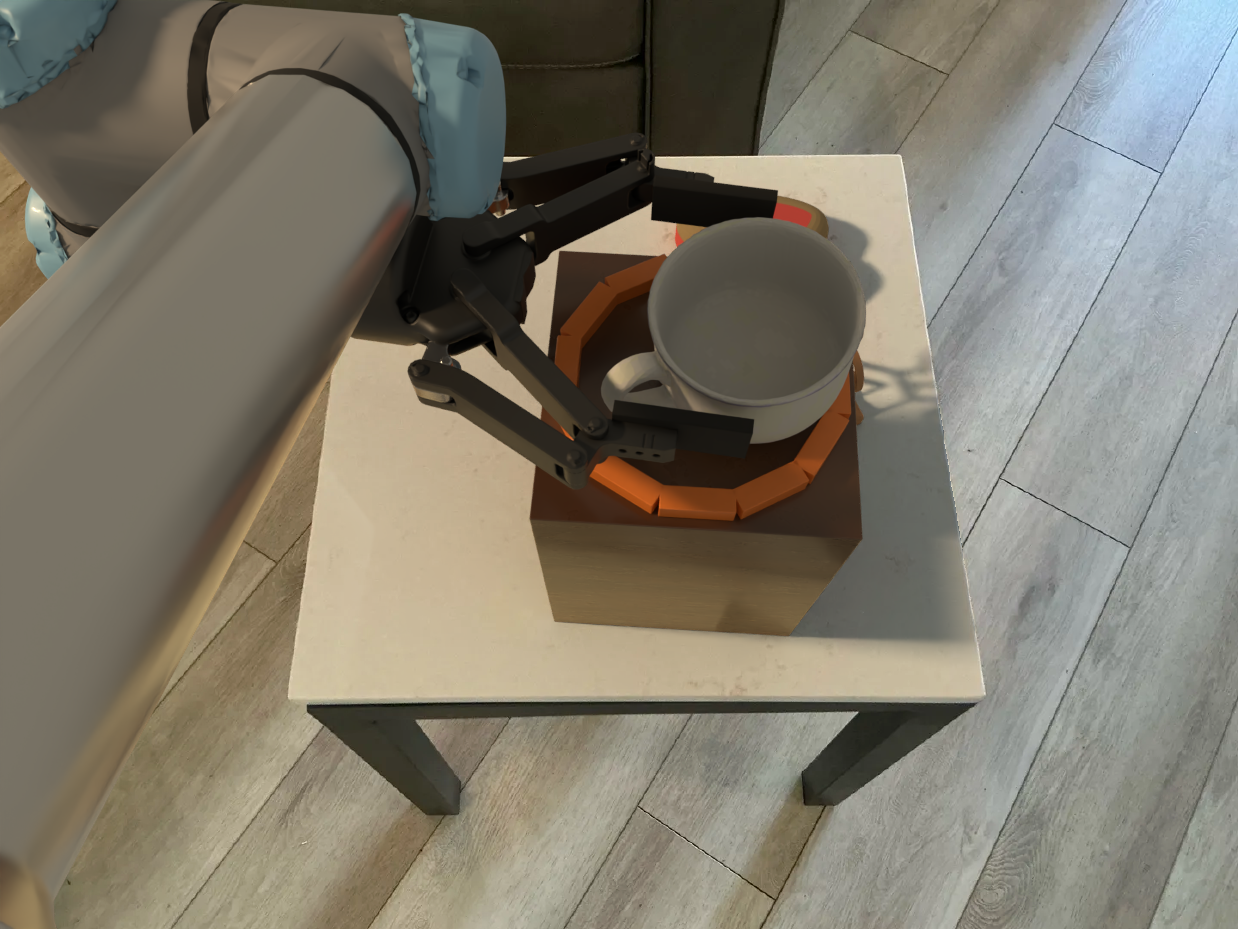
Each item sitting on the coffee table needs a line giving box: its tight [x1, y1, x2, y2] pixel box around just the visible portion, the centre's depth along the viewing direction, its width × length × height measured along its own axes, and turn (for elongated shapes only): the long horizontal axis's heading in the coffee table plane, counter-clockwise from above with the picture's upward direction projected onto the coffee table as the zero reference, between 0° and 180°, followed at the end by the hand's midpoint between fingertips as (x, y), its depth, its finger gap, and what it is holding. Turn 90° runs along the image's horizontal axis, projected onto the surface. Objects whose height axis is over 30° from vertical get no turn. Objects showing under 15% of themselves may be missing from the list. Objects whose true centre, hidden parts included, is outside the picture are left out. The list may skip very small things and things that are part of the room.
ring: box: [555, 253, 851, 521], centre depth 51 cm, size 17×17×1 cm
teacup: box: [601, 217, 867, 444], centre depth 47 cm, size 14×11×8 cm
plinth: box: [529, 250, 864, 637], centre depth 62 cm, size 18×18×22 cm
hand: (763, 319), depth 45 cm, fingers open, 13 cm apart
